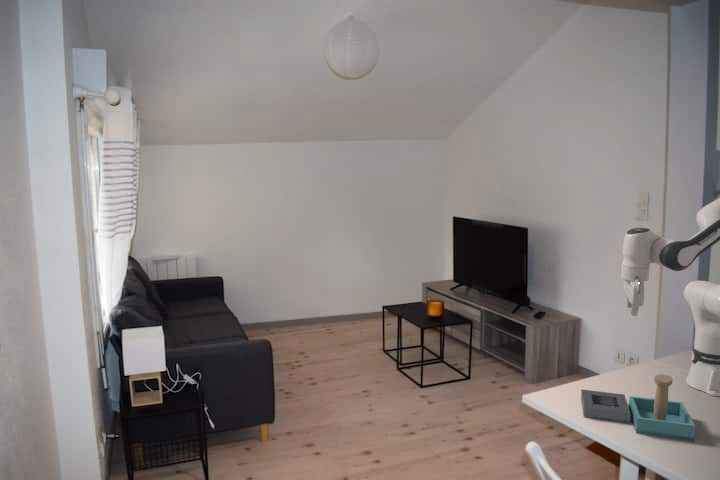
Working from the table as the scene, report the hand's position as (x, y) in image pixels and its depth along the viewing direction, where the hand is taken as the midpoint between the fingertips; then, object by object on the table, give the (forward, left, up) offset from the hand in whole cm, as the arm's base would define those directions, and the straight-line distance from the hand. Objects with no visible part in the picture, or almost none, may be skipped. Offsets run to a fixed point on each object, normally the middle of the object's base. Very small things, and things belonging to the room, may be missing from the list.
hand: (632, 311), depth 192 cm
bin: (-7, +22, -31) cm, 39 cm away
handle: (-7, +22, -30) cm, 38 cm away
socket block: (+9, +17, -31) cm, 37 cm away
